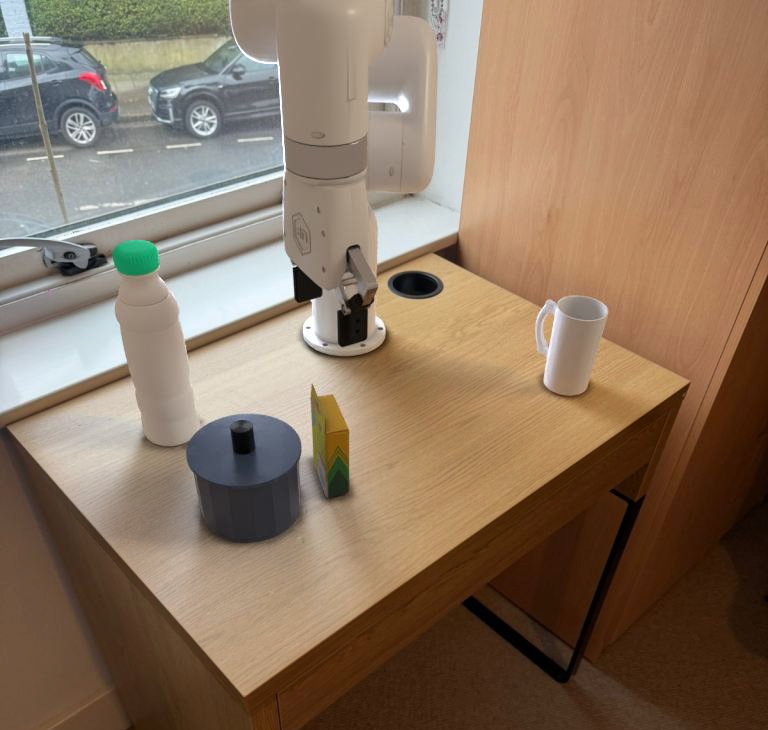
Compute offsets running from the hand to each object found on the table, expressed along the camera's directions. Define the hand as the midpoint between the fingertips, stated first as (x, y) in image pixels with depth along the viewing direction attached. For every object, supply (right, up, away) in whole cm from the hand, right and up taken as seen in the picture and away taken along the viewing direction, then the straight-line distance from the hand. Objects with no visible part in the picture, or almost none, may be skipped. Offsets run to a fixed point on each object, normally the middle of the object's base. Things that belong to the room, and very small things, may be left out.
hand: (329, 320), depth 81 cm
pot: (-10, -20, +8) cm, 24 cm away
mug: (+31, -1, +29) cm, 42 cm away
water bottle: (-22, -10, +18) cm, 30 cm away
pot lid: (-9, -14, +2) cm, 17 cm away
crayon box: (-1, -16, +13) cm, 21 cm away
